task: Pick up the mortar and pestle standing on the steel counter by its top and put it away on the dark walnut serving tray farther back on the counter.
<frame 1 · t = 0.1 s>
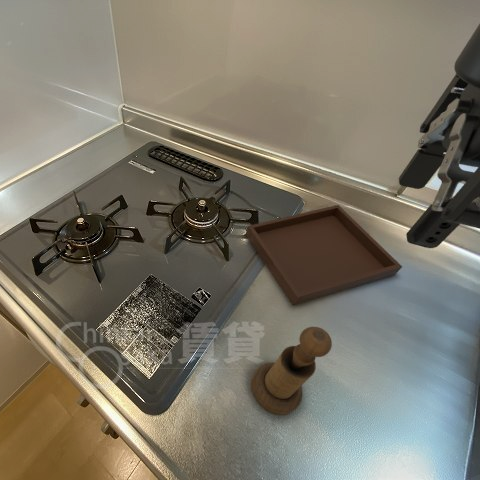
hand: (413, 211, 29), 28 cm above the worktop, tool pointing down, fingers open, 8 cm apart
tray: (314, 254, 62), on the worktop
mortar and pestle: (273, 390, 45), on the worktop
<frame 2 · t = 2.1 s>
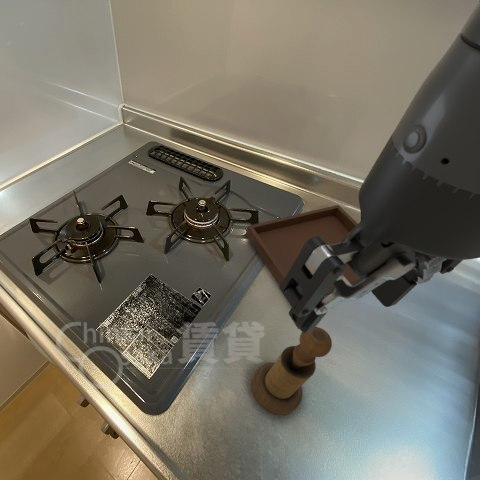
hand: (341, 309, 28), 23 cm above the worktop, tool pointing down, fingers open, 8 cm apart
nothing on the worktop moved.
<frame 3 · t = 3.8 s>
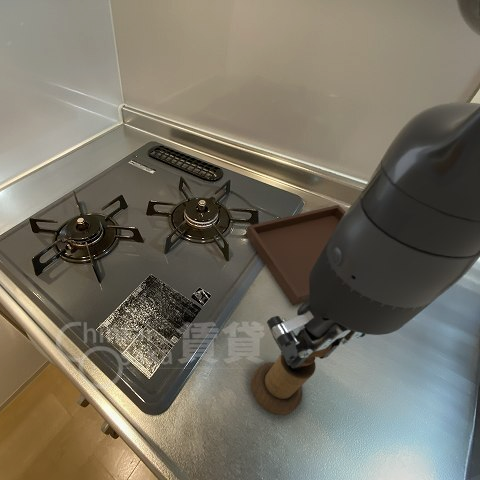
hand: (304, 354, 35), 13 cm above the worktop, tool pointing down, fingers closed on mortar and pestle, 3 cm apart
mortar and pestle: (273, 390, 45), on the worktop, touching gripper
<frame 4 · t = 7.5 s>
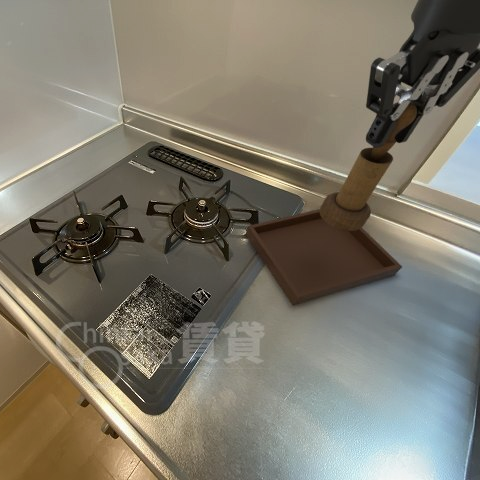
hand: (385, 141, 39), 27 cm above the worktop, tool pointing down, fingers closed on mortar and pestle, 3 cm apart
mortar and pestle: (340, 217, 49), point 14 cm above the worktop, touching gripper
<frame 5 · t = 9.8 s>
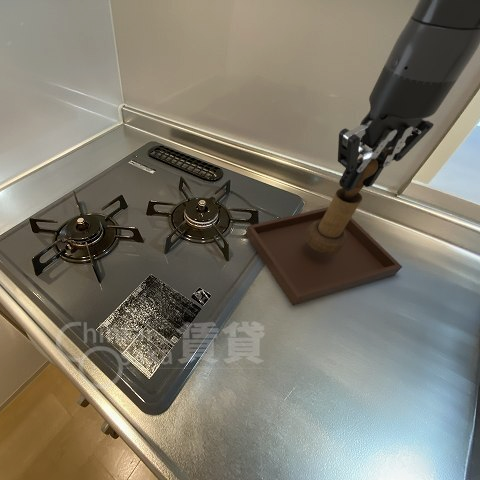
hand: (355, 185, 49), 17 cm above the worktop, tool pointing down, fingers closed on mortar and pestle, 3 cm apart
mortar and pestle: (322, 241, 59), point 4 cm above the worktop, touching gripper
when the fingers open (14 cm above the worktop, at t = 11.0 s): mortar and pestle stays where it is, resting on tray.
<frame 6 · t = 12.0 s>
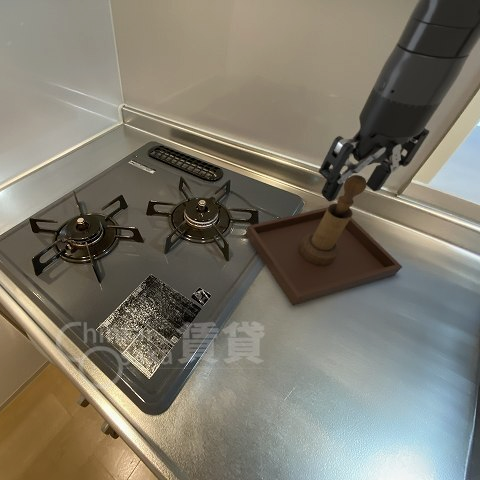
hand: (350, 192, 50), 16 cm above the worktop, tool pointing down, fingers open, 8 cm apart
mortar and pestle: (316, 253, 61), point 1 cm above the worktop, touching tray
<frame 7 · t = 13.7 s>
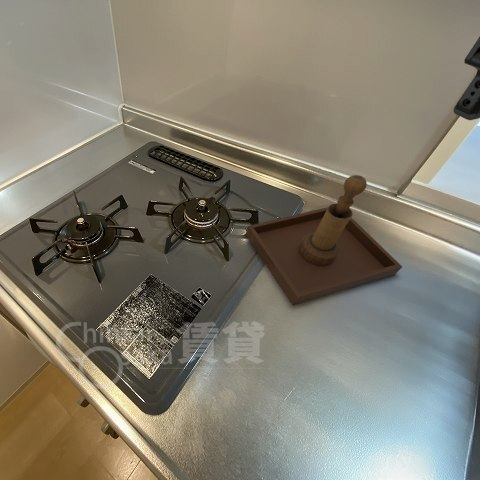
nothing on the worktop moved.
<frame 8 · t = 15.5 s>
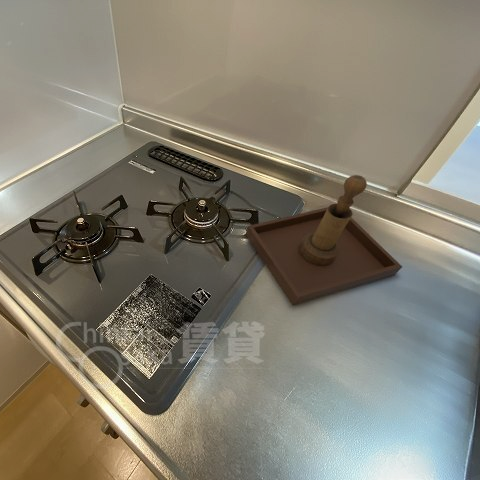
nothing on the worktop moved.
at the end: mortar and pestle inside the target area in the tray (0.1 cm from its centre), point 0.6 cm above the tray's base; mortar and pestle tilted 0°; the gripper is holding nothing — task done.
